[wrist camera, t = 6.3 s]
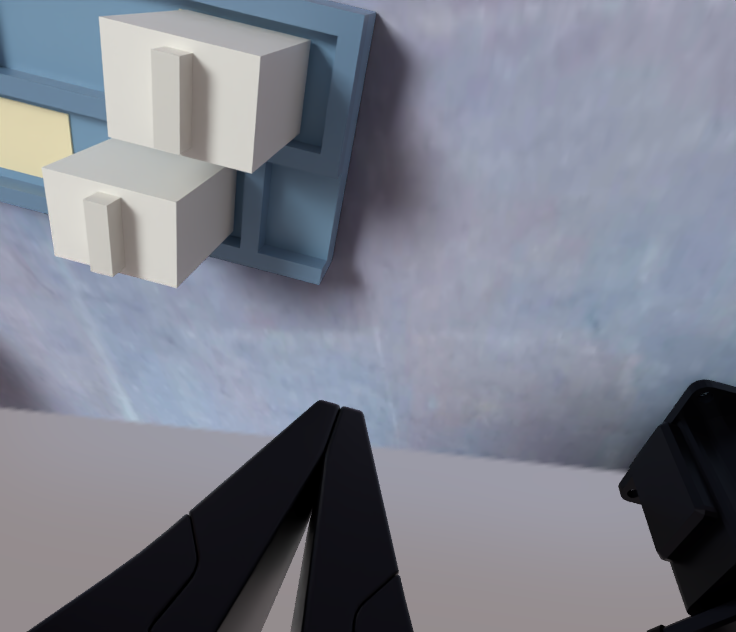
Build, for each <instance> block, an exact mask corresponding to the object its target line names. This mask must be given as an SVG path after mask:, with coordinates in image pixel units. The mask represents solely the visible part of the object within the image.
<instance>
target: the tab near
mask: <svg viewBox="0 0 736 632" xmlns="http://www.w3.org/2000/svg"><path fill="white" fill-rule="evenodd" d="M99 26H100V39H101V52H102V65H103V77H104V90H105V103H106V115H107V128H108V137H110V138H114V139H118V140H122V141H126V142H130V143H134V144H138V145H142V146H145V147H149V148H153V149H157V150H161V151H165V152H169V153H173V154H177V155H181V156H185V157H189V158H192V159H196V160H200V161H204V162H208V163H212V164H216V165H220V166H224V167H228V168H232V169H236V170H239V171H243V172H247V173H251V174H252V173H253V172H254V171H255V170H257V169H258V168H259V167H260V166H261V165H263V164H264V163H265V162H266V161H267V160H269V159H270V158H271V157H272V156H273V155H274V154H276V153H277V152H278V151H279V150H280V149H282V148H283V147H284V146H285V145H286V144H288V143H289V142H290V141H291V140H292V139H293V138H295V137H296V136H297V135H298V134H299V133H300V126H301V118H302V110H303V102H304V94H305V85H306V77H307V69H308V61H309V52H310V44H311V40H309V39H305V38H301V37H297V36H293V35H289V34H285V33H281V32H277V31H273V30H268V29H264V28H260V27H256V26H252V25H248V24H244V23H240V22H236V21H232V20H228V19H224V18H219V17H215V16H211V15H207V14H203V13H199V12H195V11H191V10H174V11H162V12H149V13H136V14H124V15H111V16H99Z"/></svg>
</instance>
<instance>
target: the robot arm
mask: <svg viewBox="0 0 736 632" xmlns="http://www.w3.org/2000/svg"><path fill="white" fill-rule="evenodd" d="M704 392H709V393H708V394H706V395H703V396H699V395H700V394H702V393H704ZM618 487H619V490H620V494H621V497H622V498H623V499H624V500H626V501H629V502H633V503H637V504H641V505H642V508H643V511H644V514H645V517H646V520H647V523H648V526H649V530H650V533H651V536H652V539H653V542H654V545H655V548H656V551H657V553H658V554H659V556H660V558H661V559H662V560H665V561H669V562H670V564H671V567H672V570H673V573H674V576H675V578H676V581H677V584H678V587H679V590H680V593H681V596H682V599H683V602H684V605H685V608H686V611H687V613H688V614H689V615H691V616H690V617H687V618H685V619H683V620H680V621H678V622H675V623H673V624H670V625H668V626H666V627H665V626H663V625H660V626H657V627H655V628H652V629H650V630H648V631H647V632H736V387H733V386H730V385H726V384H722V383H718V382H714V381H710V380H699V381H696V382H694V383H692V384H691V385H690V386H689V387H688V388H687V390H686V391H685V392H684V394H683V395H682V397H681V398H680V399H679V401H678V402H677V403H676V405H675V406H674V408H673V409H672V410H671V412H670V413H669V415H668V416H667V417H666V419H665V420H664V422H663V423H662V424H661V425H659V426H658V427H657V429H656V430H655V431H654V433H653V434H652V436H651V437H650V438H649V440H648V441H647V443H646V444H645V445H644V447H643V448H642V450H641V451H640V452H639V454H638V455H637V457H636V458H635V459H634V461H633V462H632V464H631V465H630V469H629V470H628V472H627V473H626V475H625V476H624V477H623V479H622V480H621V482H620V483H619V486H618ZM311 512H312V513H311ZM310 515H311V517H310ZM309 518H310V522H309ZM308 522H309V527H308V532H307V537H306V543H305V549H304V555H303V561H302V567H301V573H300V579H299V585H298V591H297V597H296V603H295V609H294V615H293V620H292V626H291V632H414V631H413V628H412V624H411V620H410V616H409V612H408V608H407V604H406V600H405V596H404V592H403V587H402V583H401V578H400V576H399V575H398V572H399V570H398V566H397V561H396V557H395V553H394V548H393V543H392V539H391V535H390V530H389V526H388V521H387V517H386V512H385V508H384V503H383V499H382V495H381V490H380V485H379V481H378V476H377V472H376V467H375V463H374V459H373V454H372V450H371V445H370V441H369V436H368V432H367V427H366V423H365V418H364V415H363V412H362V411H360V410H356V409H353V408H349V407H345V406H343V407H341V409H340V406H339V405H338V404H334V403H331V402H327V401H323V400H319V401H317V402H316V403H315V404H313V405H312V406H311V407H310V408H309V409H308V410H306V411H305V412H304V413H303V414H302V415H301V416H300V417H298V418H297V419H296V420H295V421H294V422H293V423H291V424H290V425H289V426H288V427H287V428H286V429H284V430H283V431H282V432H281V433H280V434H279V435H277V436H276V437H275V438H274V439H273V440H272V441H271V442H270V443H268V444H267V445H266V446H265V447H264V448H262V449H261V450H260V451H259V452H258V453H257V454H255V455H254V456H253V457H252V458H251V459H250V460H248V461H247V462H246V463H245V464H244V465H243V466H242V467H240V468H239V469H238V470H237V471H236V472H235V473H234V474H232V475H231V476H230V477H229V478H228V479H226V480H225V481H224V482H223V483H222V484H221V485H219V486H218V487H217V488H216V489H215V490H214V491H213V492H211V493H210V494H209V495H208V496H207V497H206V498H205V499H204V500H202V501H201V502H200V503H199V504H197V505H196V506H195V507H194V508H193V509H192V510H191V511H190V512H189V515H187V514H186V515H184V516H183V517H182V518H181V519H180V520H179V521H178V522H176V523H175V524H174V525H173V526H172V527H170V528H169V529H168V530H167V531H166V532H164V533H163V534H162V535H161V536H160V537H158V538H157V539H156V540H155V541H153V542H152V543H151V544H150V545H148V546H147V547H146V548H145V549H144V550H142V551H141V552H140V553H138V554H137V555H136V556H135V557H133V558H131V559H130V560H129V561H127V562H126V563H125V564H123V565H122V566H120V567H119V568H118V569H116V570H115V571H114V572H112V573H111V574H110V575H108V576H107V577H105V578H104V579H102V580H101V581H99V582H98V583H97V584H95V585H94V586H92V587H91V588H90V589H88V590H87V591H85V592H84V593H82V594H81V595H79V596H78V597H76V598H75V599H74V600H72V601H71V602H69V603H68V604H66V605H65V606H64V607H62V608H60V609H59V610H58V611H56V612H55V613H54V614H52V615H50V616H49V617H48V618H46V619H45V620H43V621H42V622H40V623H39V624H37V625H36V626H34V627H33V628H32V629H30V630H29V631H27V632H261V630H262V628H263V626H264V623H265V621H266V619H267V617H268V614H269V612H270V610H271V607H272V605H273V603H274V601H275V598H276V596H277V594H278V591H279V589H280V587H281V585H282V582H283V580H284V578H285V575H286V573H287V571H288V568H289V566H290V564H291V562H292V559H293V557H294V555H295V552H296V550H297V548H298V545H299V543H300V541H301V539H302V536H303V534H304V532H305V529H306V527H307V524H308Z"/></svg>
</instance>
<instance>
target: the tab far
mask: <svg viewBox="0 0 736 632" xmlns="http://www.w3.org/2000/svg"><path fill="white" fill-rule="evenodd" d="M41 168H42V174H43V181H44V187H45V194H46V200H47V207H48V213H49V220H50V227H51V233H52V240H53V246H54V253H55V256H57V257H61V258H65V259H69V260H72V261H76V262H80V263H84V264H88V265H90V267H91V271H92V272H96V273H99V274H103V275H107V276H111V277H114V276H115V275H116V274H117V273H122V274H125V275H129V276H133V277H137V278H140V279H144V280H148V281H152V282H156V283H159V284H163V285H167V286H171V287H174V288H178V287H179V286H180V285H181V283H182V282H183V281H184V280H185V279H186V278H187V277H188V276H189V275H190V274H191V273H192V272H193V271H194V270H195V269H196V268H197V267H198V266H199V265H200V264H201V263H202V262H203V261H204V260H205V259H206V258H207V257H208V256H209V255H210V254H211V253H212V252H213V251H214V250H215V249H216V248H217V247H218V246H219V245H220V244H221V243H222V242H223V241H224V240H225V239H226V238H227V237H228V236H229V235H230V234H231V233H232V232H233V228H234V211H235V194H236V177H237V170H236V169H232V168H228V167H224V166H220V165H216V164H212V163H208V162H204V161H200V160H196V159H192V158H189V157H185V156H181V155H177V154H173V153H169V152H165V151H161V150H157V149H153V148H149V147H145V146H142V145H138V144H134V143H130V142H126V141H122V140H118V139H114V138H111V139H108V140H106V141H104V142H101V143H99V144H96V145H94V146H92V147H89V148H87V149H84V150H82V151H80V152H77V153H75V154H72V155H70V156H68V157H65V158H63V159H60V160H58V161H56V162H53V163H51V164H49V165H46V166H44V167H41Z"/></svg>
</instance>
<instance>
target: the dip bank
mask: <svg viewBox="0 0 736 632" xmlns="http://www.w3.org/2000/svg"><path fill="white" fill-rule="evenodd" d="M174 10H191V11H195V12H199V13H203V14H207V15H211V16H215V17H219V18H224V19H228V20H232V21H236V22H240V23H244V24H248V25H252V26H256V27H260V28H264V29H268V30H273V31H277V32H281V33H285V34H289V35H293V36H297V37H301V38H305V39H309V40H311V44H310V52H309V61H308V69H307V77H306V85H305V94H304V102H303V110H302V118H301V126H300V133H299V134H298V135H297V136H296V137H295V138H293V139H292V140H291V141H290V142H289V143H288V144H286V145H285V146H284V147H283V148H282V149H280V150H279V151H278V152H277V153H276V154H274V155H273V156H272V157H271V158H270V159H269V160H267V161H266V162H265V163H264V164H263V165H261V166H260V167H259V168H258V169H257V170H255V171H254V172H253V173H252V174H251V173H247V172H243V171H239V170H237V177H236V194H235V211H234V228H233V232H232V233H231V234H230V235H229V236H228V237H227V238H226V239H225V240H224V241H223V242H222V243H221V244H220V245H219V246H218V247H217V248H216V249H215V250H214V251H213V252H212V253H211V254H210V255H209V256H210V257H214V258H218V259H221V260H225V261H229V262H233V263H237V264H240V265H244V266H248V267H252V268H256V269H260V270H263V271H267V272H271V273H275V274H279V275H282V276H286V277H290V278H294V279H298V280H302V281H305V282H309V283H313V284H317V285H320V283H321V281H322V279H323V277H324V275H325V273H326V271H327V269H328V267H329V265H330V263H331V261H332V258H333V252H334V247H335V241H336V236H337V230H338V225H339V219H340V213H341V208H342V202H343V197H344V191H345V185H346V180H347V174H348V169H349V163H350V158H351V152H352V146H353V141H354V135H355V130H356V124H357V119H358V113H359V107H360V102H361V96H362V91H363V85H364V79H365V74H366V68H367V63H368V57H369V52H370V46H371V40H372V35H373V29H374V24H375V18H376V12H374V11H369V10H365V9H361V8H357V7H353V6H349V5H345V4H341V3H336V2H332V1H328V0H0V202H4V203H8V204H11V205H15V206H19V207H23V208H27V209H31V210H34V211H38V212H42V213H46V214H49V213H48V207H47V200H46V194H45V187H44V181H43V174H42V168H41V167H44V166H46V165H49V164H51V163H53V162H56V161H58V160H60V159H63V158H65V157H68V156H70V155H72V154H75V153H77V152H80V151H82V150H84V149H87V148H89V147H92V146H94V145H96V144H99V143H101V142H104V141H106V140H108V139H111V138H110V137H108V128H107V115H106V103H105V90H104V77H103V65H102V52H101V39H100V26H99V16H111V15H124V14H136V13H149V12H162V11H174Z"/></svg>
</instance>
